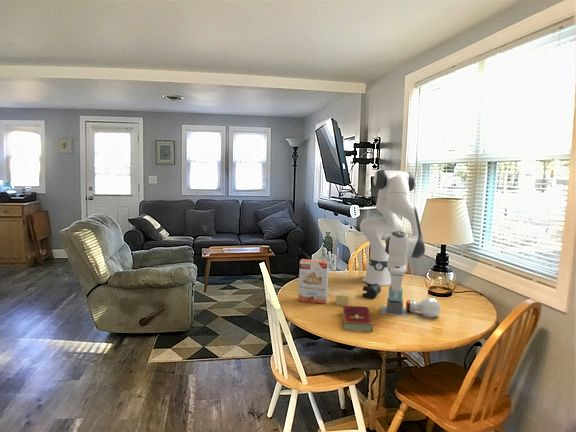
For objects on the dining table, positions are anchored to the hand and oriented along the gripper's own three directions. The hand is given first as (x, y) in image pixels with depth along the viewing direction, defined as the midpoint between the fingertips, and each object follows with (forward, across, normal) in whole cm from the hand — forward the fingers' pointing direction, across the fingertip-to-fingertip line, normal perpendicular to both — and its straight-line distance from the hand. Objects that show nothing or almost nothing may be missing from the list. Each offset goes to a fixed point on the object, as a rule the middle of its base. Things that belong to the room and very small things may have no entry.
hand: (395, 295), depth 192 cm
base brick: (+7, 0, 0) cm, 7 cm away
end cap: (+9, -20, -12) cm, 25 cm away
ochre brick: (+9, -5, -25) cm, 27 cm away
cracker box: (+9, -3, -40) cm, 41 cm away
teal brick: (+2, 0, 0) cm, 2 cm away
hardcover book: (+9, +17, -16) cm, 25 cm away
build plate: (+8, 0, 0) cm, 8 cm away
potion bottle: (+9, 0, +13) cm, 15 cm away
